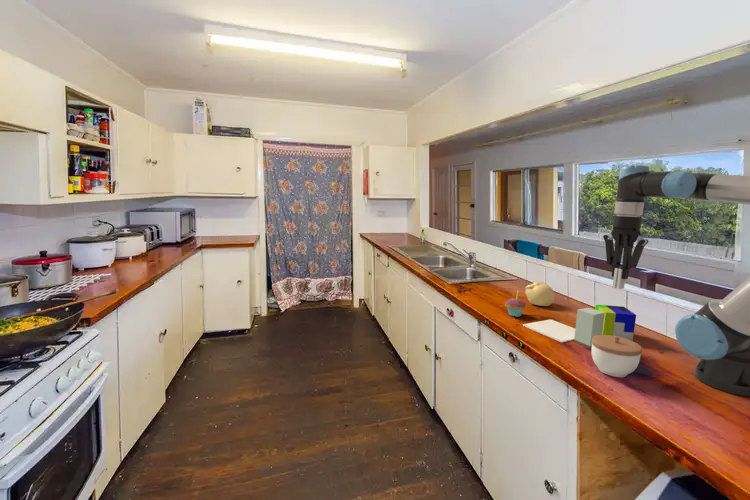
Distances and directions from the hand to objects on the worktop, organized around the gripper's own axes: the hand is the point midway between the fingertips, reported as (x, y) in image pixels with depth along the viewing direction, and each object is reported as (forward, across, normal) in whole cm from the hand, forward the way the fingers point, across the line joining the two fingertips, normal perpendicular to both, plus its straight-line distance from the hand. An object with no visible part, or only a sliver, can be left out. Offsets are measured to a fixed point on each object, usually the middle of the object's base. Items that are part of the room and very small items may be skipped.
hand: (618, 287), depth 123 cm
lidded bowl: (+23, -9, +13) cm, 27 cm away
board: (+22, +21, 0) cm, 31 cm away
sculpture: (+23, +48, -22) cm, 57 cm away
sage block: (+22, +8, 0) cm, 24 cm away
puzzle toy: (+23, +10, -17) cm, 30 cm away
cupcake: (+23, +41, +1) cm, 47 cm away
